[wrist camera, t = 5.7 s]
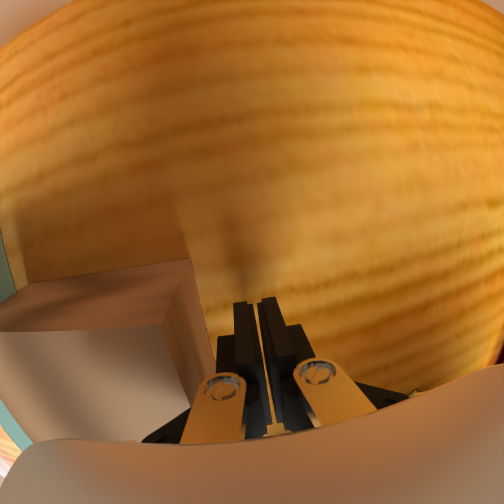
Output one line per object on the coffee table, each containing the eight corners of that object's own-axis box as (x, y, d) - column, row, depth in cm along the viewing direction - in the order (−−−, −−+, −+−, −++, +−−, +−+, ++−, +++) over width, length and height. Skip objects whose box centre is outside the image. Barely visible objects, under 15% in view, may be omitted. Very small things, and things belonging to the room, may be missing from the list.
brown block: (191, 257, 13) (161, 323, 7) (223, 391, 15) (223, 478, 9) (29, 283, 12) (-37, 330, 6) (79, 393, 14) (45, 456, 9)
